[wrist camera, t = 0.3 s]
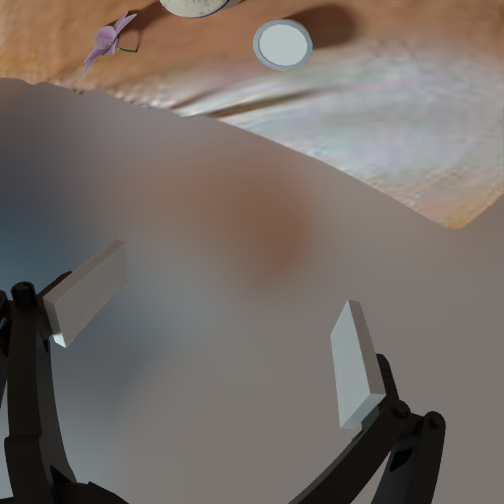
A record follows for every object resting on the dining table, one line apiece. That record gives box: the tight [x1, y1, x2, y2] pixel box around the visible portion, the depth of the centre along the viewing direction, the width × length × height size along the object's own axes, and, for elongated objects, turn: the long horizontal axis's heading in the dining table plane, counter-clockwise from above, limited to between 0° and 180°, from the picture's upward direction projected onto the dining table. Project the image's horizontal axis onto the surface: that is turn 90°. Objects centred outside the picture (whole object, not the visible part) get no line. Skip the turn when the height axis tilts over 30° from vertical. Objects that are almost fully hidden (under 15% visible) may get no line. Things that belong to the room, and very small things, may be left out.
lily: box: [81, 12, 137, 80], centre depth 28 cm, size 12×12×10 cm
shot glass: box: [253, 19, 313, 71], centre depth 27 cm, size 7×7×7 cm
